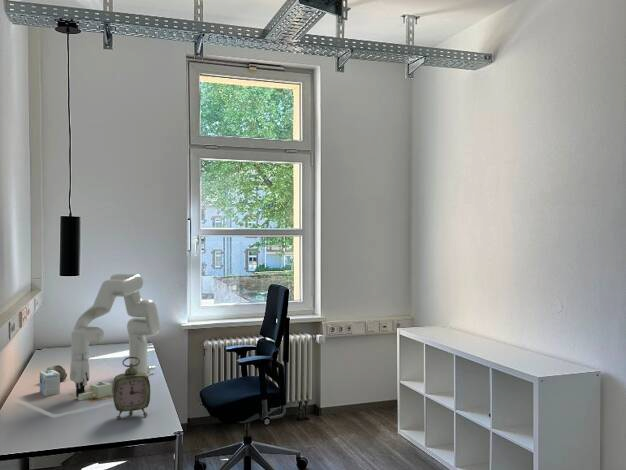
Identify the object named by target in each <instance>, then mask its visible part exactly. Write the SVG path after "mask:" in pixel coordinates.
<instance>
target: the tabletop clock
mask: <svg viewBox="0 0 626 470" xmlns="http://www.w3.org/2000/svg"><path fill="white" fill-rule="evenodd" d="M130 358H135V359H137V360H138V361H139V363H140V360H139V359H138V358H137V357H129V356H128V357H125V358H124V359H123V361H122V366H124V367H126V369H125V371H124V373H120V374H117V375H115V376H114V379H113V382H112V385H113V398H112V399H113V403H114V408H115V409H116V411H118V412H119V414H118V415H117V416H116V420H118V421H119V420H120V419H121V416H122V415H121V414H122V412H124V413H125V412H128V415H129V416H132V415H133V414H134V413H133V411H134V412H135V411H142V412H143V414H142V415H143V416H144V417H147V416H148V412H146V411H145V409H146V408H148V407H149V405H150V401H151V384H150V383H151V382H150V379H149V376H147V375H146V374H145V373H143V372H137V370H136V368H134V366H137V365H138V364H139V363H137V364H135V365H132V363H131V364H130V365H127V364H125V362H126V360H129V359H130ZM129 367H130V368H129Z"/></svg>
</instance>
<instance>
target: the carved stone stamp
mask: <svg viewBox="0 0 626 470" xmlns="http://www.w3.org/2000/svg"><path fill="white" fill-rule="evenodd" d="M49 370H55V371H57V372H58V373H60V383H63V382H64V381H65V380H66V379H67V378H68V373H67V372H66V369H65V368H64V367H63V366H61V365H60V364H59V365H53V366H50V367H47V369H46V370H45V371H49Z"/></svg>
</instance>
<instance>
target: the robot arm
mask: <svg viewBox="0 0 626 470" xmlns="http://www.w3.org/2000/svg"><path fill="white" fill-rule="evenodd" d="M143 285H144V279H143V276H141V275H140V274H137V273H115V274H112V275H111V276H110V278H109V279H107V280H104V281H103V282H102V283H101V285H100V288H99V290H98V293H97V295H96V297H95V300H94V301H93V302H94V303H93V305H91V307H89V308H87V310H85V311H84V312H83V313H82V314H80V316H79V317H78V318H77V320H76V322H75V325H74V328H73V329H72V331H71V334H70V336H71V339H70V341H71V344H70V346H71V356H70V359H71V360H70V369H69V380H70V381H71V382H74V384H75V392H76V397H75V398H77V397H78V394H81V393H85V390H86V389H85V388H86V386H87V385H88V382H89V381H90V363H89V360H90V345H91V344H98V343H100V342H101V341H103V338H104V337H105V332H104V330H103V329H102V328H100V327H98V326H97V327H96V326H89V324H90V323H91V322H93V321H94V320H95V319H98V318H100V317H103V316H105V315H107V314H109V313H110V312H111V309H112V307H113V304H114V303H115V300H116V298H119V297H123V300H124V305H125V310H126V313H127V315H128V316H129V317H132V318H130V319H129V320H128V322H127V324H126V329H127V334H128V346H129V347H128V350H129V351H128V355H129V356H128V357H137V358H138V359H139V360H140V363H139V361H138V360H137V359H135V358H130V359H128V361H129V362H128V364H129V365H130V364H131V363H132V365H135V364H137V363H139V364H138V365H137V366H134V368H136V370H137V372H143V373H145V374H146V375H147V377H149V376H150V375H151V371H153V370H156V366H155V365H152V366H150V365H149V366H148V340H147V338H146V336H148V337H149V336H150V337H151V336H152V337H154V336H156V335H158V334H159V332H160V328H161V325H160V318H159V313H158V308H157V304H156V302H155V301H154V300H152V299H143V298H142V297H141V292H140V290H141V288H143ZM128 368H130V367H128Z"/></svg>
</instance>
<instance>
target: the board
mask: <svg viewBox="0 0 626 470" xmlns="http://www.w3.org/2000/svg"><path fill="white" fill-rule="evenodd" d="M86 392H90V388H89V389H85V393H86ZM68 395H69V396H72V397H74V398H77V399H78V397H76V391H75V392H71V393H68ZM108 399H113V384H112V395H109V396H104V397H100V398H96V399H93V398H89V399H85V400H84V401H86V402H88V403H95V402H100V401H105V400H108Z"/></svg>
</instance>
